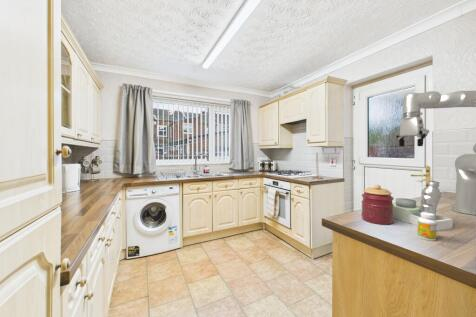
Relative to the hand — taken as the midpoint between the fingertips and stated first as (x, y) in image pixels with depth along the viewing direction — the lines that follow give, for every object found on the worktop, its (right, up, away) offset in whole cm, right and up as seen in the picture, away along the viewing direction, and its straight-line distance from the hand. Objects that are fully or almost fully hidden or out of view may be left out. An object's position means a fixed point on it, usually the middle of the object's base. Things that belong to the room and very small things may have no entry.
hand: (410, 146), depth 118 cm
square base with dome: (-13, -37, -18) cm, 43 cm away
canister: (-31, -38, -17) cm, 51 cm away
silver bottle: (-12, -37, -22) cm, 45 cm away
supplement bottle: (-24, -38, -37) cm, 58 cm away
